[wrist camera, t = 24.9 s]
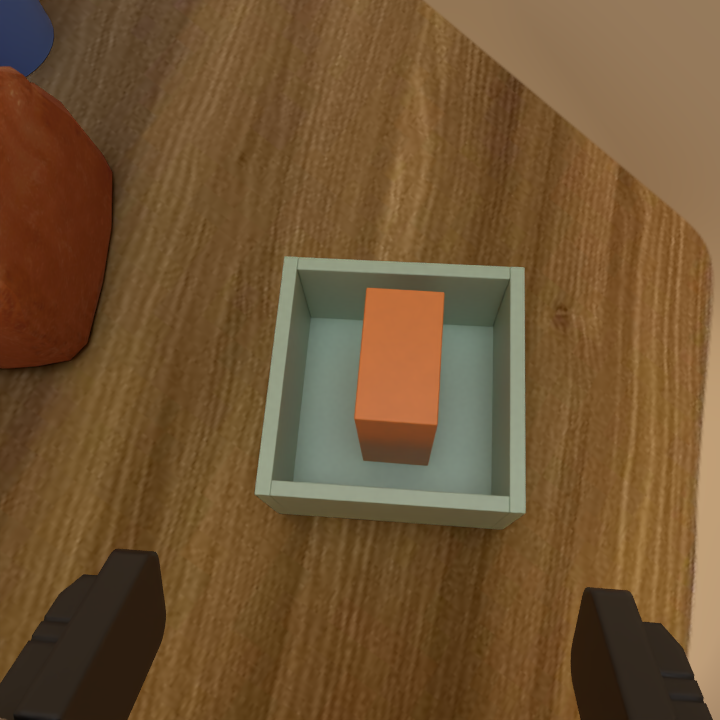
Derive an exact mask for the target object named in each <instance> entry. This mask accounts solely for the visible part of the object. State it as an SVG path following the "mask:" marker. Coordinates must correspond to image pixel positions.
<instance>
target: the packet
mask: <svg viewBox="0 0 720 720" xmlns="http://www.w3.org/2000/svg"><path fill="white" fill-rule="evenodd" d="M444 296H445V294H444V292H433V291H416V290H399V289H382V288H367V289H366V297H365V307H364V318H363V328H362V339H361V350H360V360H359V371H358V381H357V392H356V402H355V413H354V420H355V425H356V429H357V434H358V439H359V443H360V448H361V453H362V457H363V460H364V461H373V462H386V463H399V464H411V465H424V466H427V465H428V463H429V459H430V455H431V451H432V446H433V442H434V438H435V434H436V430H437V425H438V410H439V391H440V372H441V353H442V334H443V315H444Z"/></svg>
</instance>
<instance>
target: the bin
mask: <svg viewBox="0 0 720 720" xmlns="http://www.w3.org/2000/svg"><path fill="white" fill-rule="evenodd" d="M367 288H382V289H399V290H416V291H433V292H444V294H445V296H444V315H443V334H442V353H441V372H440V391H439V410H438V425H437V430H436V434H435V438H434V442H433V446H432V451H431V455H430V459H429V463H428V465H427V466H424V465H411V464H399V463H386V462H373V461H364V460H363V457H362V453H361V448H360V443H359V439H358V434H357V429H356V425H355V420H354V413H355V402H356V392H357V381H358V371H359V360H360V350H361V339H362V328H363V318H364V307H365V297H366V289H367ZM255 495H256V496H257V497H259V498H260V499H261V500H262V501H264V502H265V503H266V504H267V505H269V506H270V507H271V508H272V509H274V510H275V511H276V512H278V513H279V514H293V515H307V516H321V517H334V518H348V519H362V520H376V521H390V522H404V523H418V524H431V525H445V526H459V527H473V528H487V529H501V530H502V529H504V528H505V527H507V526H508V525H510V524H511V523H513V522H514V521H515V520H517V519H518V518H520V517H521V516H522V515H524V514H525V513H526V468H525V268H524V267H501V266H479V265H457V264H435V263H413V262H391V261H369V260H347V259H325V258H303V257H299V258H298V257H286V256H285V257H284V265H283V273H282V281H281V289H280V297H279V305H278V312H277V320H276V328H275V336H274V344H273V352H272V360H271V368H270V376H269V383H268V391H267V399H266V407H265V415H264V423H263V431H262V439H261V447H260V455H259V462H258V470H257V478H256V486H255Z"/></svg>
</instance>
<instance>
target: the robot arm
mask: <svg viewBox="0 0 720 720" xmlns="http://www.w3.org/2000/svg"><path fill="white" fill-rule="evenodd" d="M165 621H166V609H165V601H164V594H163V586H162V579H161V571H160V564H159V558H158V555H157V553H156V552H153V551H140V550H128V549H115V550H114V551H113V552H112V553H111V554H110V556H109V557H108V559H107V561H106V562H105V564H104V566H103V567H102V569H101V570H100V572H99V574H98V575H85V574H84V575H82V576H81V577H80V578H79V579H77V580H76V581H75V582H74V583H72V584H71V585H70V586H69V587H67V588H66V589H65V590H64V591H62V592H61V593H60V594H59V595H58V597H57V599H56V600H55V602H54V603H53V605H52V606H51V608H50V609H49V611H48V612H47V614H46V615H45V618H44V621H41V623H40V624H39V626H38V627H37V629H36V630H35V632H34V633H33V635H32V639H31V641H28V642H27V644H26V645H25V647H24V648H23V650H22V651H21V653H20V654H19V656H18V658H17V659H16V661H15V662H14V664H13V665H12V667H11V668H10V670H9V671H8V673H7V674H6V676H5V677H4V679H3V680H2V682H1V683H0V720H127V719H128V717H129V715H130V712H131V710H132V708H133V706H134V703H135V701H136V699H137V697H138V694H139V692H140V690H141V687H142V685H143V683H144V681H145V678H146V676H147V674H148V672H149V669H150V667H151V665H152V662H153V660H154V658H155V656H156V653H157V651H158V649H159V646H160V644H161V641H162V638H163V634H164V629H165ZM571 676H572V683H573V688H574V692H575V696H576V701H577V705H578V710H579V714H580V719H581V720H713V719H712V717H711V714H710V712H709V710H708V707H707V705H706V703H704V701H703V695H702V693H701V690H700V688H699V686H698V683H697V681H695V680H694V674H693V671H692V669H691V666H690V664H689V662H688V659H687V657H686V654H685V652H684V650H683V648H682V647H681V645H680V644H679V643H678V642H677V641H676V640H675V639H674V638H673V636H672V635H671V634H670V633H669V632H668V631H667V630H666V629H665V627H664V626H663V625H662V624H661V623H650V622H642V620H641V617H640V615H639V612H638V609H637V606H636V604H635V601H634V598H633V596H632V594H631V593H630V592H629V591H628V590H615V589H603V588H590V587H587V588H585V590H584V592H583V596H582V600H581V605H580V610H579V615H578V619H577V624H576V629H575V633H574V638H573V643H572V648H571Z"/></svg>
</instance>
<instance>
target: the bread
mask: <svg viewBox="0 0 720 720" xmlns="http://www.w3.org/2000/svg"><path fill="white" fill-rule="evenodd" d="M111 227H112V171H111V169H110V167H109V165H108V163H107V161H106V159H105V157H104V156H103V154H102V153H101V152H100V150H99V149H98V148H97V147H96V145H95V144H94V143H93V142H92V140H91V139H90V138H89V137H88V135H87V134H86V133H85V132H84V130H83V129H82V128H81V127H80V125H79V124H78V123H77V122H76V120H75V119H74V118H73V117H72V115H71V114H70V113H69V112H68V110H67V109H66V108H65V107H64V105H63V104H62V103H61V102H60V101H59V100H57V99H56V98H54V97H53V96H51V95H50V94H48V93H47V92H46V91H44V90H43V89H41V88H40V87H38V86H37V85H36V84H34V83H30V82H29V81H28V80H27V79H26V77H25V76H24V75H23V74H21V73H20V72H18V71H17V70H15V69H14V68H12V67H10V66H0V368H19V367H33V366H41V365H47V364H52V363H57V362H63V361H68V360H71V359H72V358H73V357H74V356H75V355H76V354H77V353H78V352H79V351H80V350H81V349H82V348H83V347H84V346H85V345H86V344H87V342H88V338H89V334H90V330H91V326H92V322H93V318H94V315H95V311H96V307H97V303H98V299H99V295H100V291H101V287H102V284H103V278H104V272H105V265H106V259H107V252H108V246H109V240H110V233H111Z"/></svg>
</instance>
